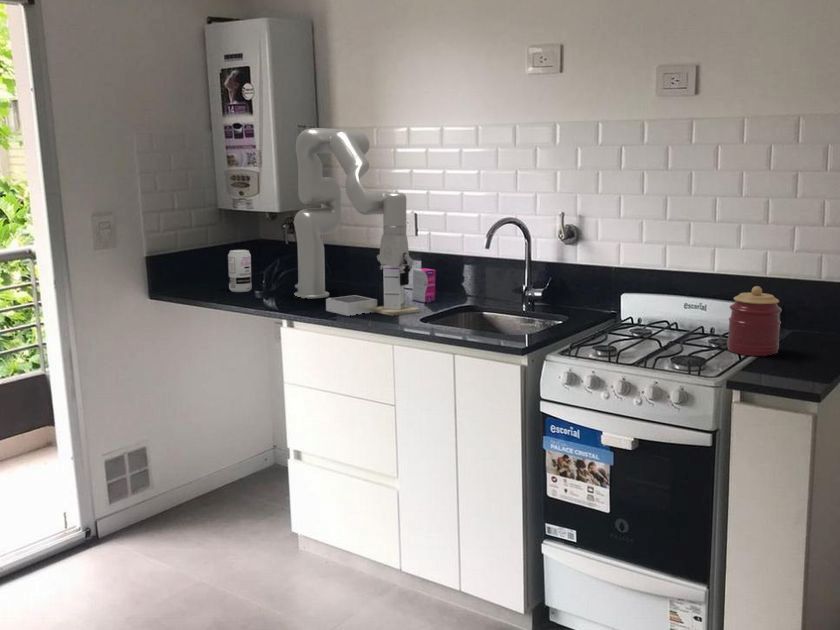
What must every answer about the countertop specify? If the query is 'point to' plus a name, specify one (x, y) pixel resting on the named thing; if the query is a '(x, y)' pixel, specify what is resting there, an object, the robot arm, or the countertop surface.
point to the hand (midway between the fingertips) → (394, 283)
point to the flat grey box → (351, 305)
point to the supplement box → (423, 285)
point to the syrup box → (393, 288)
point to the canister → (754, 324)
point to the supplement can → (239, 270)
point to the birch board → (396, 312)
